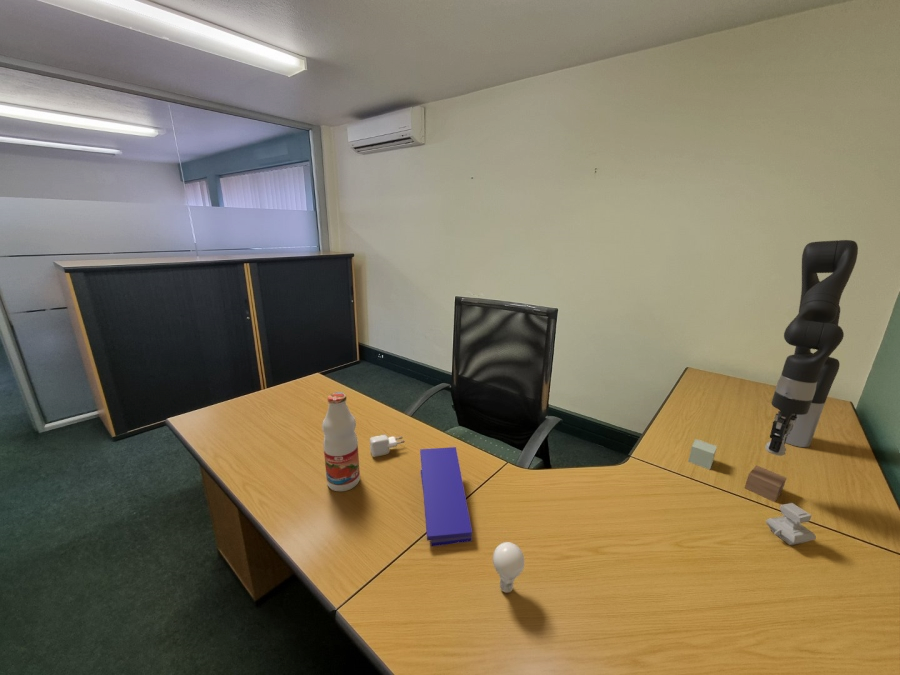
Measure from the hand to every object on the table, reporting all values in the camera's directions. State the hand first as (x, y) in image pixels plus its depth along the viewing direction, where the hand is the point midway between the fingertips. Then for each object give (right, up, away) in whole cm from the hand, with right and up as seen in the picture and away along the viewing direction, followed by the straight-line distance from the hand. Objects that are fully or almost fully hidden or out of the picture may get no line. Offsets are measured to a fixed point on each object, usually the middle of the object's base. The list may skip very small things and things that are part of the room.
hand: (776, 447), depth 102 cm
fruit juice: (-125, -12, +5) cm, 125 cm away
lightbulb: (-81, -22, -26) cm, 88 cm away
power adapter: (-114, -8, +20) cm, 116 cm away
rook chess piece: (0, -1, +1) cm, 1 cm away
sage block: (-10, -10, +17) cm, 22 cm away
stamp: (-9, -19, -12) cm, 24 cm away
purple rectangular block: (-95, -15, -3) cm, 96 cm away
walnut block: (0, -14, +4) cm, 14 cm away
